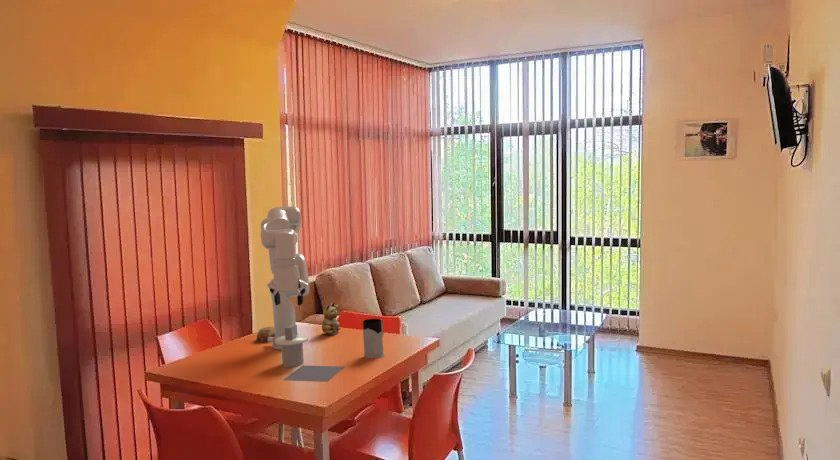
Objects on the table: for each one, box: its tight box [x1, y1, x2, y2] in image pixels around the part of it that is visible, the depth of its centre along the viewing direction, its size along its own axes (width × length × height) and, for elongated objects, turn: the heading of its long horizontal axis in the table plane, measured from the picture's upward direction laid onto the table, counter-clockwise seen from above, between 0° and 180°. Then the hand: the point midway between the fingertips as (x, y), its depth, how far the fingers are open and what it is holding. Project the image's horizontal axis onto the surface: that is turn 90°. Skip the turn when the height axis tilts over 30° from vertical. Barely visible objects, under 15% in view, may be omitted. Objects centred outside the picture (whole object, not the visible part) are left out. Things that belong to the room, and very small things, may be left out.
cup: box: [281, 343, 305, 368], centre depth 254 cm, size 8×8×10 cm
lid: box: [275, 324, 309, 345], centre depth 253 cm, size 13×13×6 cm
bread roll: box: [256, 326, 275, 343], centre depth 298 cm, size 10×10×8 cm
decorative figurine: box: [321, 302, 341, 336], centre depth 303 cm, size 10×8×15 cm
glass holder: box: [362, 318, 386, 359], centre depth 263 cm, size 9×14×15 cm, turn 156°
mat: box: [282, 364, 346, 382], centre depth 240 cm, size 18×18×1 cm
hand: (289, 304), depth 253 cm, fingers open, 9 cm apart
